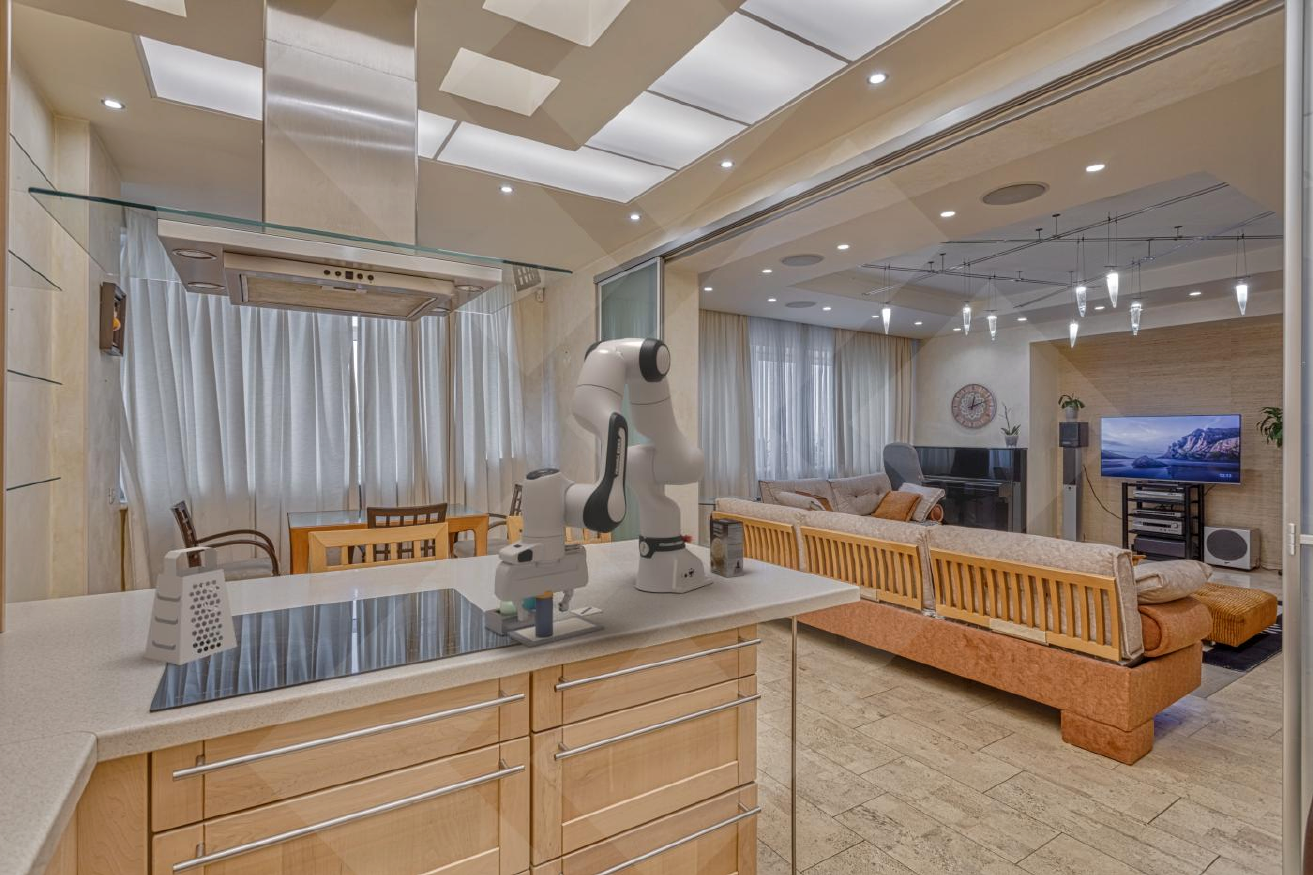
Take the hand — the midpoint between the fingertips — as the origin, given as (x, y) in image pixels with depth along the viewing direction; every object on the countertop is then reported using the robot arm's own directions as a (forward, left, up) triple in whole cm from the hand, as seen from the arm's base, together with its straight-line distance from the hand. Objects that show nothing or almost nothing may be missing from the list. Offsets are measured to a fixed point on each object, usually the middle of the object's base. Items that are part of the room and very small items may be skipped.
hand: (543, 615), depth 127 cm
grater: (+56, -38, -5) cm, 68 cm away
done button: (+2, -11, -3) cm, 12 cm away
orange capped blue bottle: (0, 0, -4) cm, 4 cm away
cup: (-9, -23, -5) cm, 25 cm away
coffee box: (-71, -16, -5) cm, 73 cm away
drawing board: (-4, -2, -5) cm, 6 cm away
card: (-17, -10, -5) cm, 20 cm away
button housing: (+2, -11, -5) cm, 12 cm away
